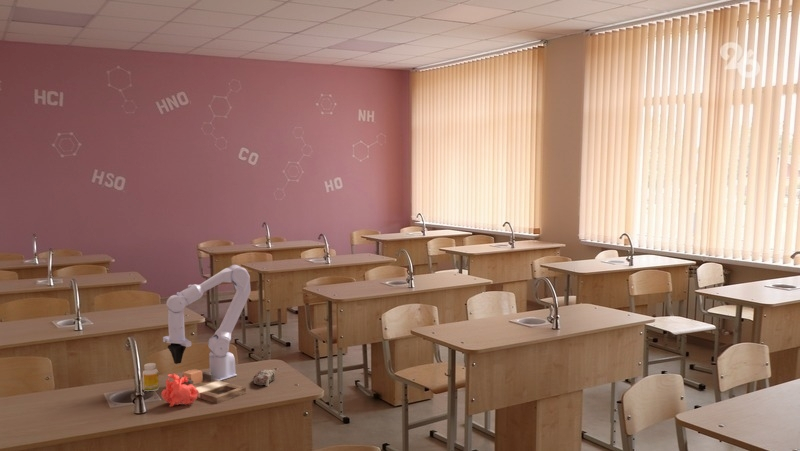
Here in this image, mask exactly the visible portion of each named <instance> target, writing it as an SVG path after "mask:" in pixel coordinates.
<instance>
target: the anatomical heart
mask: <svg viewBox="0 0 800 451" xmlns="http://www.w3.org/2000/svg"><path fill="white" fill-rule="evenodd" d="M167 376H168V378H166V380H165V388H164V389H163V390H162V391H161V398H162V399H163V400H164V401H166V403H168V404H169V407H174V405H177V406H179V404H182V405H185V406H186V405H189V406H190V405H191V404H193V403H194V402H195V400H198V398H197V392H198V390H197V389H196V388H195V387H194V386H193V385H192V384H189V385H188V386H187V385H185V384H183V385H181V383H184V381H185V382H188V380H187V378H188V377H185V376H184V377H183V376H182V377H181V379H179V377H180V376H179V375H178V374H176V373H173V374H171V373H170V374H167ZM170 378H171V379H172V380H173V381H170ZM171 385H172V386H171ZM190 390H191V392H192V393H191V392H190Z"/></svg>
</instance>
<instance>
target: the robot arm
mask: <svg viewBox="0 0 800 451" xmlns="http://www.w3.org/2000/svg"><path fill="white" fill-rule="evenodd" d="M222 283H232V284H233V286H234V289H235V294H234V296H233V298H232V300H231V302H230V303H229V306H228V308H227V311H226V313H225V314H224V317H223V319H222V321H221V323H220V325H219V328H217V330H215V332H214V334H213V335H212V336H211V337H210V338H209V340H207V346H208V349H209V350H210V352H209V353H208V359H209V360H208V361H209V364H208V366H209V373H210V374H214V380H218V381H223V380H226V379H231V378H233V377H235V376H236V377H237V376H238V374H237V373H236V359H235V356H234V354H233V353H232V352H230V343H231V341H232V333H233V331H234V329H235V326H236V325H237V322H238V320H239V318H240V316H241V314H242V312H243V309H244V307H245V305H246V303H247V301H248V299H249V297H250V295H251V293H252V290H251V276H250V274H249V271H248V270H247V269H246V268H245V267H243V266H240V265H238V264H232V265H230V266H229V267H226V268H223V269H222V270H221V271H219V272H217V273H216V274H214V275H213V276H211V277H209V278H208V279H206V280H205V281H203V282H202V283H200V284H194V283H193V284H188V285H187V288H184V289H183V290H181V291H180V292H179V291H177V292H176V294H173V295H171V296H169V297H168V298H167V299H166V302H165V304H166V307H167V308H168V311H167V313H168V317H167V323H168V325H167V326H168V335H166V336H162V341H163V343H166V344H168V345H167V349H168V350H169V352H170V354H171V356H172V360H173V362H174V364H175V365H179V364H181V363H182V361H183V360H182V359H183V356H184V352H185V351H186V348H190V347H192V341H191V340H189V339H188V338H186V334H185V331H186V330H185V329H186V328H185V312H184V310H185V307H187V306H189V305H191V304H192V303H194V302H196V301H197V300H199V299H202V298H203V294H204V293H205V292H207V291H209V290H210V289H213V288H214V287H217V286H218V285H220V284H222Z"/></svg>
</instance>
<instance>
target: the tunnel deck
mask: <svg viewBox="0 0 800 451" xmlns="http://www.w3.org/2000/svg"><path fill="white" fill-rule="evenodd" d="M202 375H203V382H200V383H197V384H193V381H192V380H188V379H187V380H188V382H185V381H184V383H181V385H183V384H185V385H187V386H188V385H189V384H192V385H193V386H194V387H195V388H196V389H197V390H198V392H197V399H201V400H204V401H207V402H211V403H214V404H220V403H222V402H225V401H228V400H230V399H233V398H236V397H239V396H242V395H244V394H247V388H246V387H244V386H241V385H237V384H233V383H229V382H226V381H223V380H221V381H218V380H214V374H210V372H205V371H202ZM181 378H182V377H180V376H179V379H181ZM171 386H172V385H171ZM190 392H191V390H190ZM191 393H192V392H191Z"/></svg>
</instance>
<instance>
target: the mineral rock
mask: <svg viewBox="0 0 800 451" xmlns="http://www.w3.org/2000/svg"><path fill="white" fill-rule="evenodd" d="M275 375H276V373H275V369H261V370H259V371H258V372H257V373H255V375H254V376H253V378H252V379H253V384H254V385H258V386H265V387H269V386H270V383H271V382H273V381H275Z"/></svg>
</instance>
